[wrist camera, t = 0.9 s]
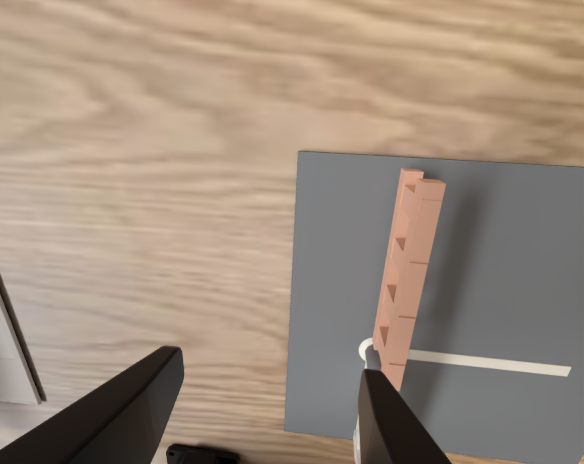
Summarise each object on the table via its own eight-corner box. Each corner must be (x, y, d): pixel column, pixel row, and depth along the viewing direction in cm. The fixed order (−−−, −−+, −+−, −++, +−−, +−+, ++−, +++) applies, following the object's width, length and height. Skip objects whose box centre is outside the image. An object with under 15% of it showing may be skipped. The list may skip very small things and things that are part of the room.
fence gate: (384, 361, 21) (398, 420, 17) (363, 359, 21) (372, 417, 17) (421, 168, 16) (453, 184, 12) (394, 166, 16) (417, 182, 12)
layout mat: (572, 465, 23) (575, 470, 23) (284, 427, 25) (283, 431, 25) (731, 175, 15) (740, 176, 15) (298, 150, 17) (297, 151, 17)
